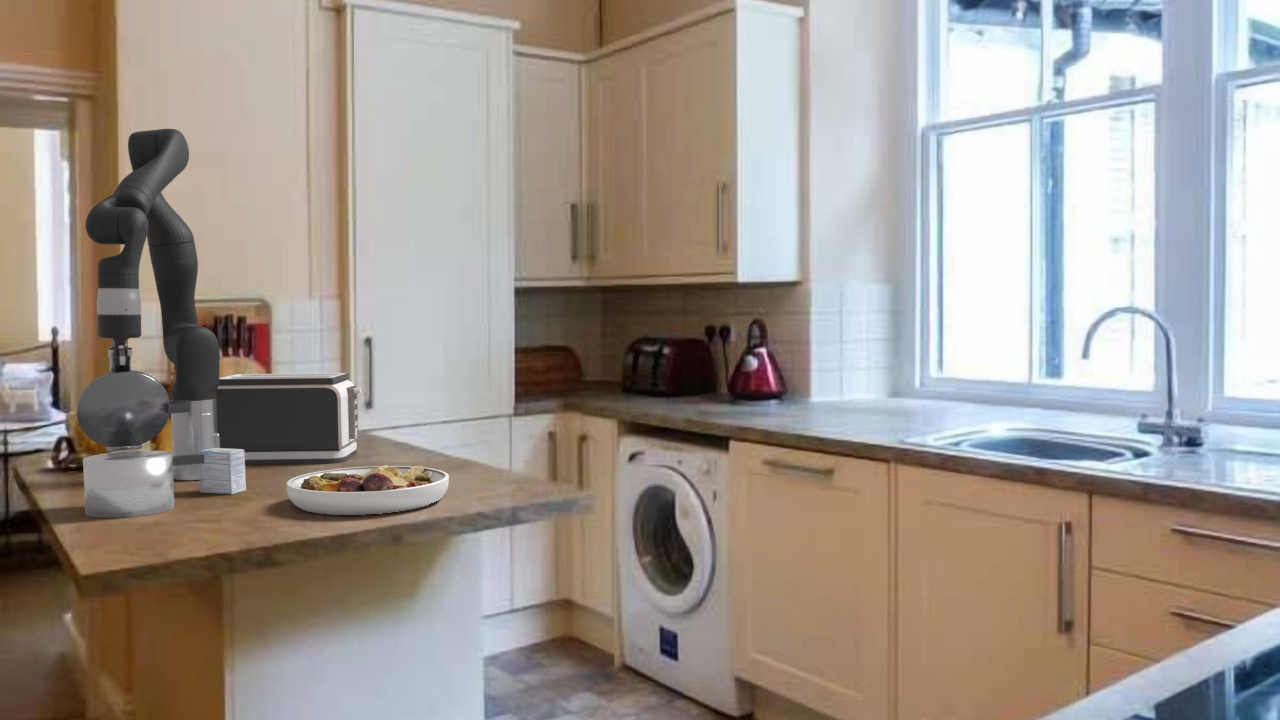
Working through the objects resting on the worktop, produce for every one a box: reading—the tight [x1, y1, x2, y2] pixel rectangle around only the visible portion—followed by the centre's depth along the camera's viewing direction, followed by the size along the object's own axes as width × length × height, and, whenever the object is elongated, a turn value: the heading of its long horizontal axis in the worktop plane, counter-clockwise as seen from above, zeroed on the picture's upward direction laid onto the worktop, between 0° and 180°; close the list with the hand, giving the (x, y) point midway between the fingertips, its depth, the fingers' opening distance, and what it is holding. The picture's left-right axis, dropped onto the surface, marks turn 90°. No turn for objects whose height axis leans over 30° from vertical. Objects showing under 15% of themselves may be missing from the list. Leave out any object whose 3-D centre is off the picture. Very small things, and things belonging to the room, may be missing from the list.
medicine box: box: [199, 448, 247, 495], centre depth 217 cm, size 8×4×9 cm, turn 71°
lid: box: [76, 369, 190, 452], centre depth 204 cm, size 20×17×3 cm
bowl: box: [286, 464, 450, 516], centre depth 204 cm, size 30×30×8 cm
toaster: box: [216, 372, 362, 466], centre depth 261 cm, size 19×35×20 cm, turn 93°
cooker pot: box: [82, 449, 204, 519], centre depth 201 cm, size 20×17×10 cm
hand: (120, 403), depth 204 cm, fingers closed
